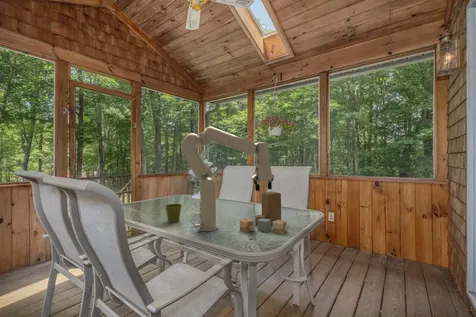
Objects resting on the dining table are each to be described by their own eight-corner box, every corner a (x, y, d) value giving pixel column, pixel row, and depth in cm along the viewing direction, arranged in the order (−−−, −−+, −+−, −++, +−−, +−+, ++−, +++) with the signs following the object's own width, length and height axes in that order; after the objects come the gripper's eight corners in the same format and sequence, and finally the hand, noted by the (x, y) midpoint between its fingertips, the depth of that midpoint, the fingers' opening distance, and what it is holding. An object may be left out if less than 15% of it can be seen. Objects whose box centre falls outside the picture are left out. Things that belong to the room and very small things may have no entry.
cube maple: (281, 234, 133) (281, 223, 133) (272, 232, 136) (272, 221, 136) (286, 231, 137) (286, 221, 137) (277, 229, 141) (277, 219, 141)
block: (281, 223, 156) (281, 192, 156) (269, 225, 151) (268, 194, 152) (273, 219, 165) (273, 191, 165) (261, 221, 160) (260, 192, 161)
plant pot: (161, 223, 159) (161, 206, 159) (171, 218, 170) (170, 203, 170) (176, 224, 156) (176, 207, 156) (185, 219, 167) (185, 204, 167)
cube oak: (245, 232, 136) (245, 222, 136) (239, 230, 141) (239, 220, 141) (253, 231, 139) (253, 220, 139) (248, 228, 144) (248, 218, 144)
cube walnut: (264, 226, 148) (264, 217, 148) (255, 226, 150) (255, 216, 150) (266, 224, 153) (266, 215, 153) (257, 223, 155) (257, 214, 155)
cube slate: (266, 232, 137) (266, 221, 137) (257, 230, 140) (257, 220, 140) (271, 229, 142) (270, 219, 142) (262, 228, 145) (262, 218, 145)
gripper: (255, 162, 136) (256, 192, 136) (277, 161, 146) (278, 189, 146) (247, 162, 142) (248, 191, 142) (269, 161, 152) (270, 188, 152)
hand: (263, 190), depth 144 cm, fingers open, 9 cm apart
